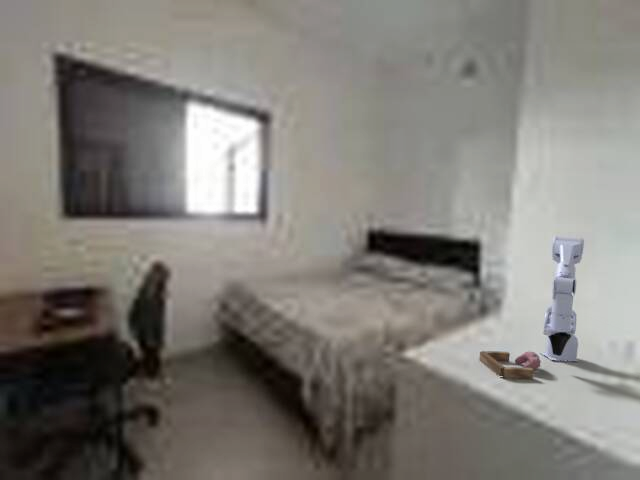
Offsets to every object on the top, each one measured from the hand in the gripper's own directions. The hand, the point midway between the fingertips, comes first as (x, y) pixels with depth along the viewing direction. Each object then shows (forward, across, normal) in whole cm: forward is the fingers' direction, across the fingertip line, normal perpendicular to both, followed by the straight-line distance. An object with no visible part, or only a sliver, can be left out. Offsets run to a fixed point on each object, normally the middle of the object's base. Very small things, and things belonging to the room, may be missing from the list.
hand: (557, 354), depth 142 cm
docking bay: (+5, +16, -8) cm, 18 cm away
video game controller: (+6, +8, -4) cm, 11 cm away
